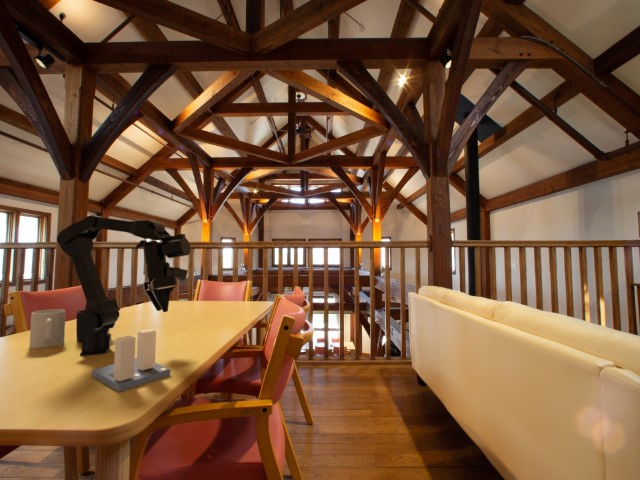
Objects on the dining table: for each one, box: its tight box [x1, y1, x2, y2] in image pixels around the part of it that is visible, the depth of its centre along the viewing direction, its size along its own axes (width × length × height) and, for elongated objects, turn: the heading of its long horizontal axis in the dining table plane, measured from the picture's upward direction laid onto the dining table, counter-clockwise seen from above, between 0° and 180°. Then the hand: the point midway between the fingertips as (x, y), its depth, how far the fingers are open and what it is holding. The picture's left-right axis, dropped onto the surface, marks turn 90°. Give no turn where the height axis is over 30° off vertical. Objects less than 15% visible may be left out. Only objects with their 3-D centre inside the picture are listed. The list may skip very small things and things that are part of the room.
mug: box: [29, 308, 66, 350], centre depth 98 cm, size 12×8×11 cm
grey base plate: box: [91, 357, 171, 393], centre depth 75 cm, size 15×12×2 cm
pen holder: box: [75, 309, 85, 344], centre depth 106 cm, size 9×9×10 cm
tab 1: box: [113, 335, 136, 381], centre depth 70 cm, size 3×3×9 cm
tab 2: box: [136, 328, 157, 371], centre depth 76 cm, size 3×3×9 cm
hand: (162, 311), depth 92 cm, fingers open, 9 cm apart
